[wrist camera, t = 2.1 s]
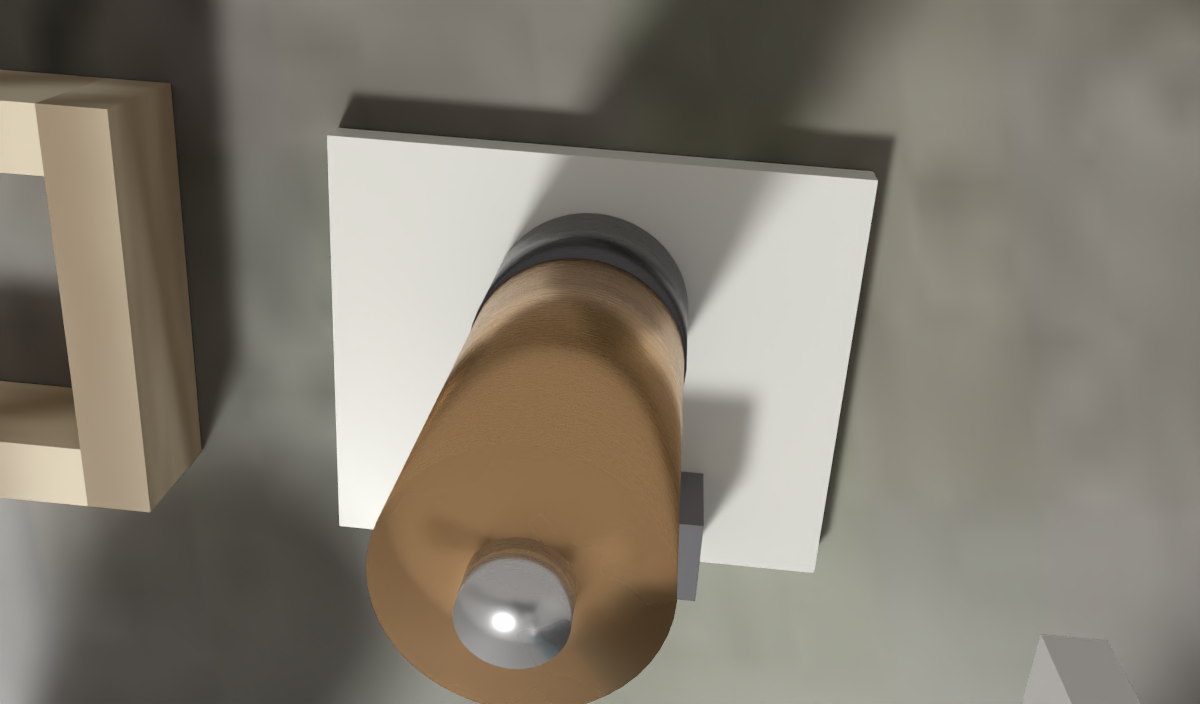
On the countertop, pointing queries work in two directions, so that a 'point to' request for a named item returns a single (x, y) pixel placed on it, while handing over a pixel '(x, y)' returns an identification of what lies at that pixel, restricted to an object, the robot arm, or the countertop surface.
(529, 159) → the pad
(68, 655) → the countertop surface
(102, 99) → the cell holder
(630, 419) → the copper cell
